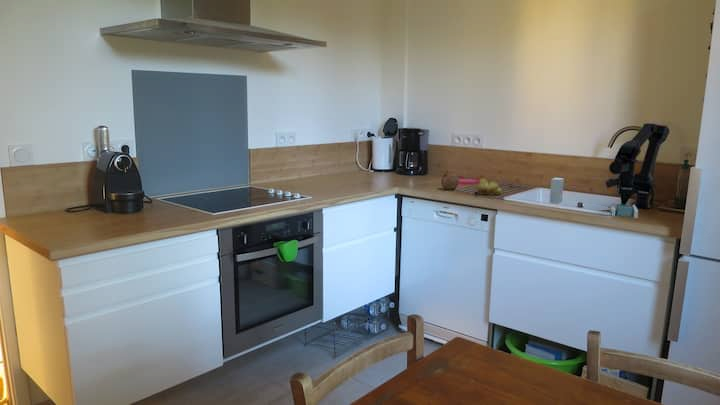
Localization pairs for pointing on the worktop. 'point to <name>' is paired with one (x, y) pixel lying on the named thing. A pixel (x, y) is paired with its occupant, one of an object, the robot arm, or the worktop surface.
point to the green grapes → (488, 187)
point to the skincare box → (556, 190)
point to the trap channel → (634, 210)
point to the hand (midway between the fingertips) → (622, 206)
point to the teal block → (624, 210)
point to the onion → (449, 181)
